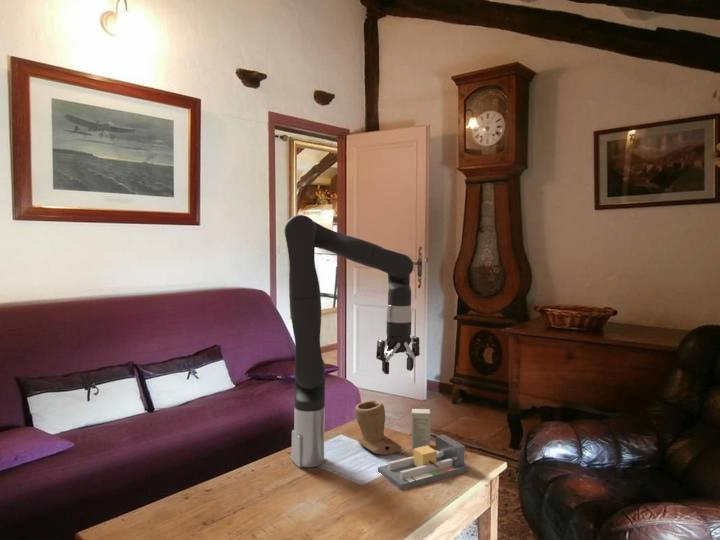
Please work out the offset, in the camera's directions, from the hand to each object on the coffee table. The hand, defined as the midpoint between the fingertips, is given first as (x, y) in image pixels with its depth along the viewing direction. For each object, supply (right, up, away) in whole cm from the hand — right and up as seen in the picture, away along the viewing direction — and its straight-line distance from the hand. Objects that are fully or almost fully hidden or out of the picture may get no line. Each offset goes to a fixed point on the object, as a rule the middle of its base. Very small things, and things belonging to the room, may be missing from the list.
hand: (397, 371), depth 160 cm
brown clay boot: (-7, -27, +11) cm, 30 cm away
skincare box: (+8, -28, +13) cm, 32 cm away
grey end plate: (+16, -27, 0) cm, 31 cm away
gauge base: (+7, -29, -5) cm, 30 cm away
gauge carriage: (+10, -27, -6) cm, 29 cm away
